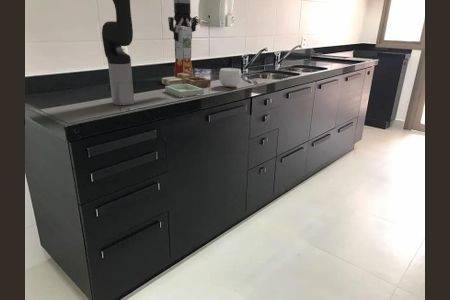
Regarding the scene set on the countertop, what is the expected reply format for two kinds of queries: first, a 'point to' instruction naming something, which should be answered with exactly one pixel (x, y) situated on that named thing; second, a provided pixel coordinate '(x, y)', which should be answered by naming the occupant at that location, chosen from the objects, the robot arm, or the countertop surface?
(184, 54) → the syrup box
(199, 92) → the tray
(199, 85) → the socket
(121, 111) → the countertop surface
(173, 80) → the beige rectangular block
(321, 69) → the countertop surface
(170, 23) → the robot arm
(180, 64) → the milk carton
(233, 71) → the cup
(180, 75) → the stop block
